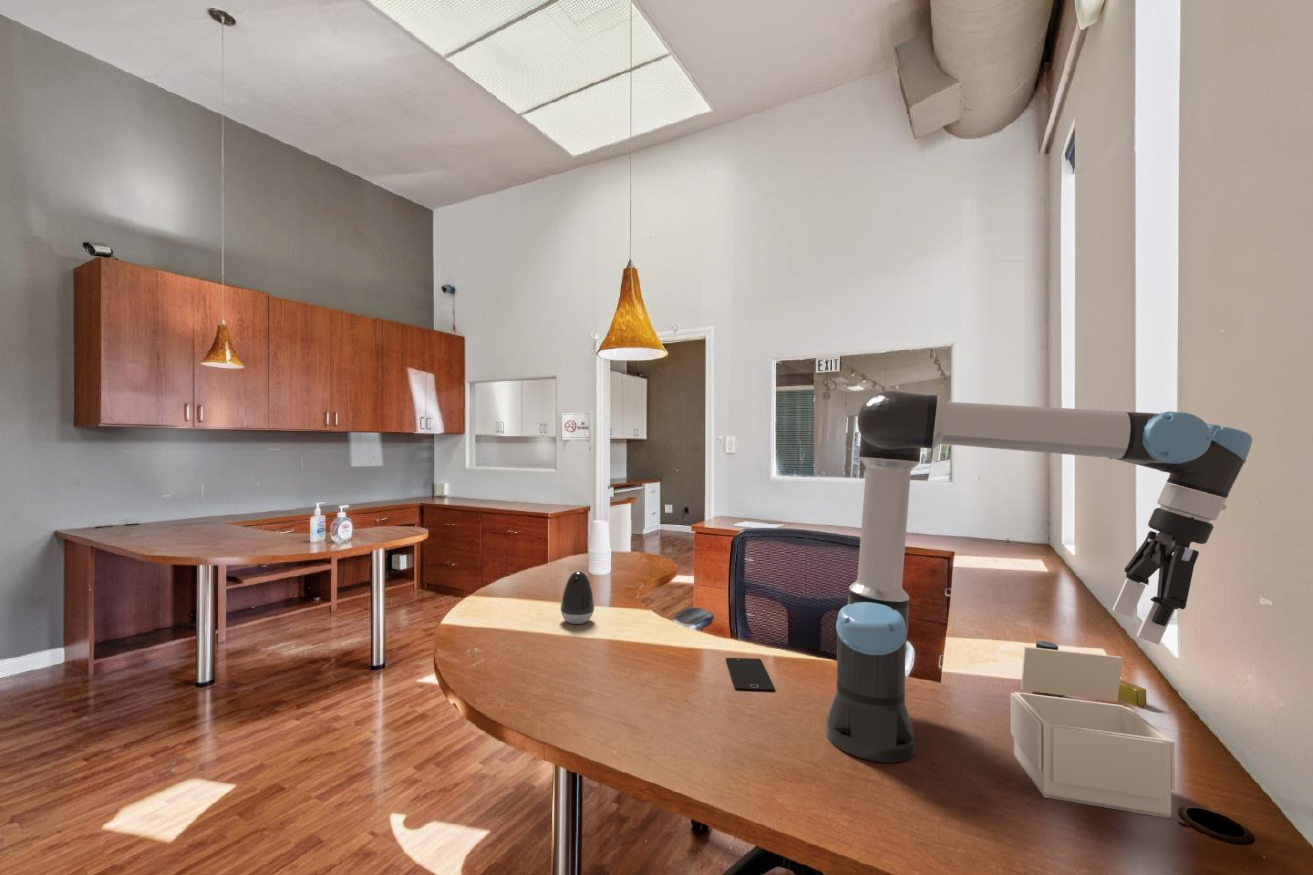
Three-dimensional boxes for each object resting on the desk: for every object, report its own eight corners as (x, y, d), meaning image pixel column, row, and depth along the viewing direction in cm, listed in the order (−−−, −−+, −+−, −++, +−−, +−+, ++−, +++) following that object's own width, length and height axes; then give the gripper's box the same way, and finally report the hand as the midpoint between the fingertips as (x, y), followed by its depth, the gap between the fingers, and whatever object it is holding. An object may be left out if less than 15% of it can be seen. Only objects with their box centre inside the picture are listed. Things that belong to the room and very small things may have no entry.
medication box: (1083, 684, 126) (1083, 667, 126) (1093, 683, 126) (1092, 666, 126) (1137, 708, 114) (1137, 689, 114) (1148, 707, 114) (1147, 688, 114)
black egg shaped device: (554, 625, 158) (556, 574, 158) (566, 615, 168) (568, 567, 169) (588, 628, 156) (589, 576, 157) (597, 618, 166) (599, 569, 167)
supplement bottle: (1028, 694, 119) (1028, 642, 119) (1032, 686, 123) (1032, 636, 124) (1061, 703, 115) (1061, 649, 115) (1064, 694, 119) (1064, 643, 120)
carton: (1041, 798, 81) (1041, 725, 82) (1009, 755, 93) (1009, 691, 94) (1179, 822, 77) (1178, 744, 77) (1127, 773, 89) (1127, 705, 89)
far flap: (1025, 647, 92) (1024, 646, 92) (1021, 689, 93) (1020, 688, 93) (1122, 657, 88) (1121, 656, 88) (1117, 701, 89) (1116, 700, 90)
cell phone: (735, 692, 117) (735, 687, 117) (725, 661, 135) (725, 657, 135) (775, 693, 117) (775, 689, 117) (760, 662, 135) (760, 658, 135)
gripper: (1253, 537, 78) (1191, 665, 81) (1182, 511, 100) (1136, 612, 103) (1187, 518, 81) (1130, 642, 84) (1133, 496, 103) (1090, 595, 107)
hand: (1133, 626), depth 94 cm, fingers open, 13 cm apart
